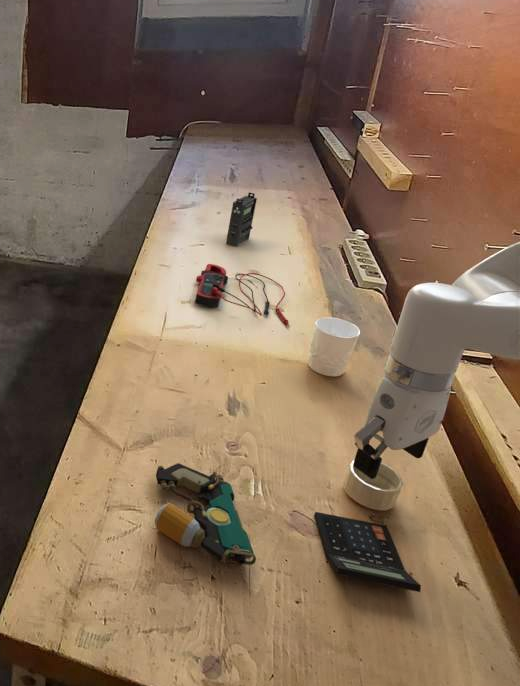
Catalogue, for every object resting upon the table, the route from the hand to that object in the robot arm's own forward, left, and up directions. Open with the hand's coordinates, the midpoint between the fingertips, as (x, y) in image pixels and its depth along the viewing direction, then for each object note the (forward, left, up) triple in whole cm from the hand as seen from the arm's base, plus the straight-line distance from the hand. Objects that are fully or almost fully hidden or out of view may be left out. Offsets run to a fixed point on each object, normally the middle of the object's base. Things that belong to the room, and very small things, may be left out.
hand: (387, 461), depth 85 cm
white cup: (-22, -27, -7) cm, 36 cm away
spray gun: (+28, -7, -7) cm, 29 cm away
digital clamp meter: (-29, -58, -7) cm, 66 cm away
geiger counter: (-55, -86, -7) cm, 103 cm away
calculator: (+12, +7, -7) cm, 15 cm away
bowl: (+1, -1, -7) cm, 7 cm away
